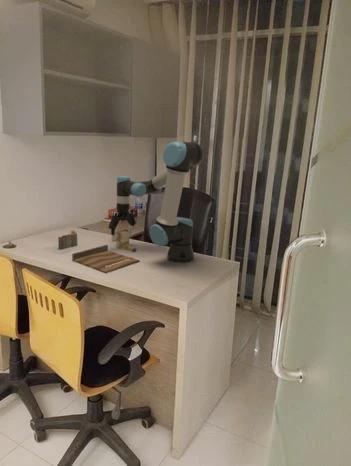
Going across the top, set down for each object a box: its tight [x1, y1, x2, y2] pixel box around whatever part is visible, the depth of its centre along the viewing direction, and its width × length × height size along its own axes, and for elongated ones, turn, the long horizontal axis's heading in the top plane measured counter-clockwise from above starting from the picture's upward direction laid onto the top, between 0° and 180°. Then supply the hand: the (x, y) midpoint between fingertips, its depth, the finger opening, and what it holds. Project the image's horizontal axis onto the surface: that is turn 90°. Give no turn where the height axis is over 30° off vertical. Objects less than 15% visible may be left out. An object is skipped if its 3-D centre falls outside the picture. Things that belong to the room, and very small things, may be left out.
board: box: [71, 244, 141, 274], centre depth 194 cm, size 26×24×4 cm
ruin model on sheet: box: [57, 230, 78, 251], centre depth 214 cm, size 11×3×10 cm, turn 143°
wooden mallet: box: [115, 229, 137, 253], centre depth 215 cm, size 13×5×10 cm, turn 53°
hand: (122, 237), depth 217 cm, fingers open, 13 cm apart
